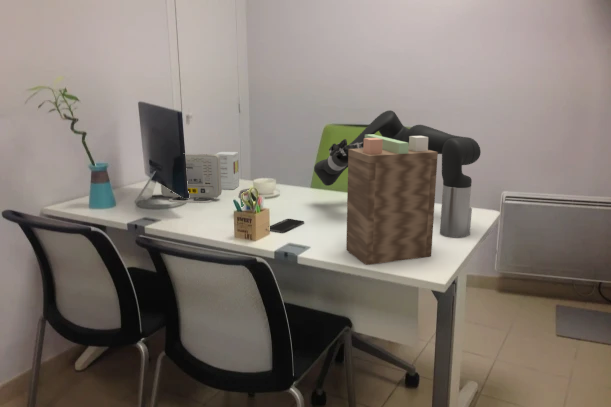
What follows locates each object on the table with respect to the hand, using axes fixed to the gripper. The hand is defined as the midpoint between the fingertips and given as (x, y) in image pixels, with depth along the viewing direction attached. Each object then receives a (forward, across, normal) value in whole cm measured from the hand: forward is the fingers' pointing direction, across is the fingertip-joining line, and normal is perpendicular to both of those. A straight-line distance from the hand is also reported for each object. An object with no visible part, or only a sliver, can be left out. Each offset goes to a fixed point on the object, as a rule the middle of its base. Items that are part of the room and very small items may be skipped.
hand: (357, 141), depth 186 cm
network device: (-67, -50, -3) cm, 84 cm away
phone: (-22, -24, +24) cm, 40 cm away
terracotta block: (+28, -10, +15) cm, 34 cm away
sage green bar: (+23, -3, +12) cm, 26 cm away
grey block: (+28, +4, +15) cm, 33 cm away
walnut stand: (+11, -3, +42) cm, 43 cm away
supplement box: (-85, -30, -13) cm, 91 cm away
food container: (-37, -34, +15) cm, 52 cm away
